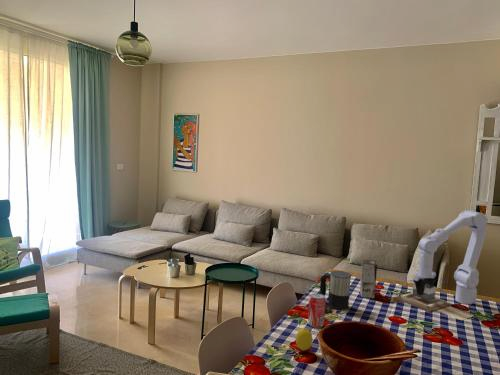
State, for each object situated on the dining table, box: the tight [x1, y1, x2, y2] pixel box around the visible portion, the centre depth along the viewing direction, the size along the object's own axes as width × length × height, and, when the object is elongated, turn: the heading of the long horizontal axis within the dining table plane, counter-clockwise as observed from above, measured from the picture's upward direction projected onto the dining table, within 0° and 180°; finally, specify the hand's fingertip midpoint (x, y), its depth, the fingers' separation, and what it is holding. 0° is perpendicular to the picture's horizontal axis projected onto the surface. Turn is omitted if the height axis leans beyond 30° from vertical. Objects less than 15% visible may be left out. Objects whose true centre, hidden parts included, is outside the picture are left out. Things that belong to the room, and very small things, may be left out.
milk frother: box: [319, 270, 352, 313], centre depth 174 cm, size 14×16×15 cm
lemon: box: [295, 327, 313, 352], centre depth 135 cm, size 6×6×8 cm
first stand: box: [436, 305, 476, 321], centre depth 171 cm, size 11×11×2 cm
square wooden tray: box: [392, 291, 453, 313], centre depth 183 cm, size 18×18×3 cm
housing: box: [412, 282, 437, 301], centre depth 183 cm, size 5×8×6 cm, turn 34°
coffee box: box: [359, 259, 378, 299], centre depth 193 cm, size 9×6×16 cm
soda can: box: [307, 292, 327, 329], centre depth 155 cm, size 6×6×12 cm
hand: (423, 293), depth 183 cm, fingers closed on housing, 5 cm apart
